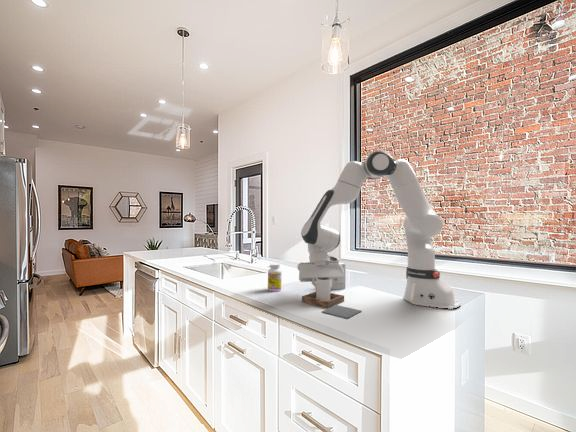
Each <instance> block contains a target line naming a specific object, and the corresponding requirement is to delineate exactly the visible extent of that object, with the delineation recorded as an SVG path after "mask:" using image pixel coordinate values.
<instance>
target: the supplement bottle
mask: <svg viewBox="0 0 576 432" xmlns="http://www.w3.org/2000/svg"><path fill="white" fill-rule="evenodd" d="M280 266H281V265H280V263H277V262H275V263H270V264H269V269H268V270H267V290H268V291H270V292H279V291H281V290H282V269H280Z"/></svg>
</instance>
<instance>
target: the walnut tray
mask: <svg viewBox="0 0 576 432" xmlns="http://www.w3.org/2000/svg"><path fill="white" fill-rule="evenodd" d="M301 302H302V303H305V304H309V305H314V306H317V307H322V308H325V309H329V308H331V307H333V306H336V305H339V304H341V303H343V302H345V295H342V294H339V293H333V292H330V300H329V301H325V300H320V299H316V291H314V292H310V293H308V294H305V295H302V296H301Z"/></svg>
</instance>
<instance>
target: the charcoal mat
mask: <svg viewBox="0 0 576 432" xmlns="http://www.w3.org/2000/svg"><path fill="white" fill-rule="evenodd" d="M321 313H323V314H326V315H327V314H328V315H330V316H335V317H339V318H343V319H346V320H349V319H350V318H352V317H354V316H357V315H358V314H360V313H362V310H361V309H360V310H359V309H356V308H352V307H347V306H343V305H339V304H337V305H335V306H332V307H330V308H325V309H323V310H322V311H321Z"/></svg>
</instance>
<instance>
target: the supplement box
mask: <svg viewBox="0 0 576 432" xmlns="http://www.w3.org/2000/svg"><path fill="white" fill-rule="evenodd" d="M339 263H340V264H341V265H342V267H343V270H344V273H345V274H346V263H344V262H341V261H339ZM332 290H346V277H345V278H344V280H343V281H333V284H332Z"/></svg>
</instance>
